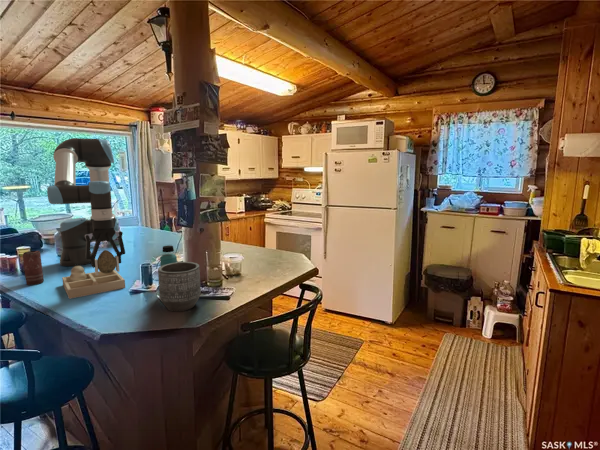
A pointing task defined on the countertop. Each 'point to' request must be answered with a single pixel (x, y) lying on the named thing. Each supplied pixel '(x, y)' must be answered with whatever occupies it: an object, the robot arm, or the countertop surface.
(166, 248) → the beverage bottle
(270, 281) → the countertop surface
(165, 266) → the planter
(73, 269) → the beige stacked dome figurine
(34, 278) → the can
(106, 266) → the decorative egg
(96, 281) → the wooden compartment tray
